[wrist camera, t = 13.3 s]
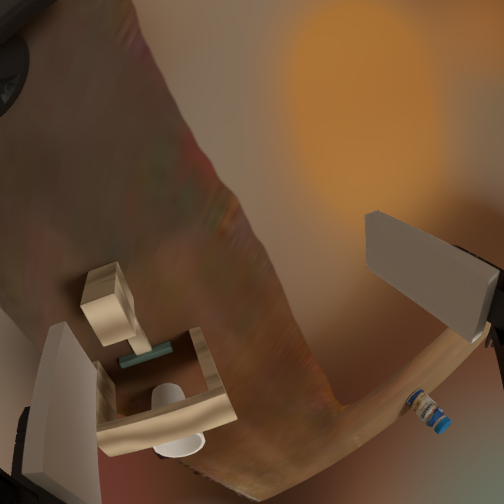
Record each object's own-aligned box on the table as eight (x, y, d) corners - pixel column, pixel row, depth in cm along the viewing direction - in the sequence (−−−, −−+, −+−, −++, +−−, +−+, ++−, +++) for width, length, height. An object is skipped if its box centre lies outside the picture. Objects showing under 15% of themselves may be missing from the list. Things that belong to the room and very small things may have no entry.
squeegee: (74, 276, 43) (64, 311, 34) (131, 255, 45) (132, 286, 37) (122, 362, 51) (124, 402, 43) (171, 345, 54) (181, 384, 45)
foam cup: (137, 401, 56) (144, 452, 45) (154, 372, 55) (164, 425, 43) (177, 411, 61) (191, 459, 49) (197, 384, 59) (214, 433, 48)
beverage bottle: (407, 406, 102) (437, 438, 85) (403, 400, 98) (435, 434, 81) (422, 392, 103) (453, 422, 85) (420, 385, 98) (453, 417, 81)
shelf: (89, 363, 49) (86, 434, 35) (199, 325, 54) (225, 393, 40) (106, 387, 52) (109, 457, 38) (210, 353, 57) (237, 419, 43)
